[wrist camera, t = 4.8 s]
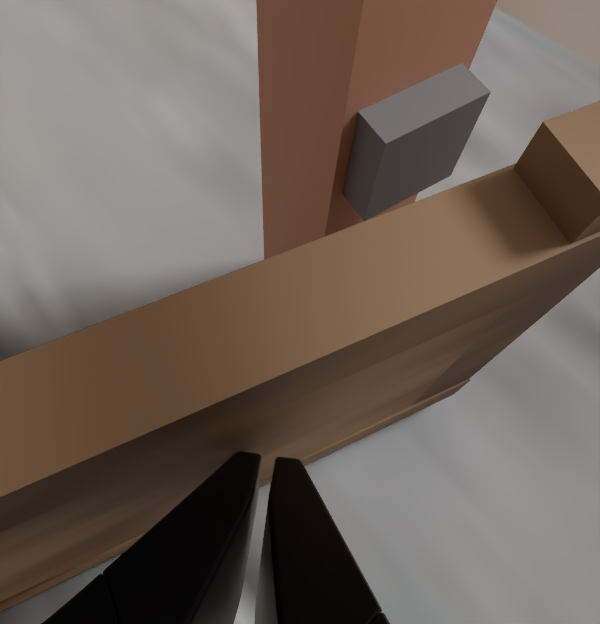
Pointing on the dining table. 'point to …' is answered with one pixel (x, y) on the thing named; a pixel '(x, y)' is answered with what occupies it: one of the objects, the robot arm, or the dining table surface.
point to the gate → (284, 355)
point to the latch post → (360, 107)
